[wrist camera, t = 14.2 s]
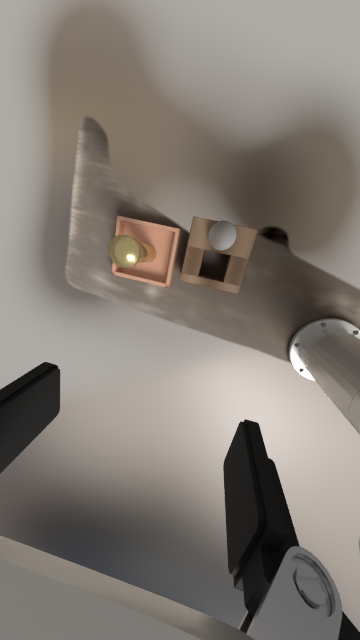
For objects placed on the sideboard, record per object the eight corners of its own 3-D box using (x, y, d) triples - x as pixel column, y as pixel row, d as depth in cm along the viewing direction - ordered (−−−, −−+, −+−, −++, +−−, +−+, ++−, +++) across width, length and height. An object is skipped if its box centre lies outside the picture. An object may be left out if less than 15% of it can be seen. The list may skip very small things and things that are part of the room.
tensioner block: (253, 232, 34) (260, 228, 28) (235, 290, 37) (239, 296, 31) (195, 220, 34) (192, 214, 29) (183, 278, 38) (178, 281, 32)
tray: (181, 230, 35) (179, 228, 33) (171, 285, 38) (168, 287, 36) (123, 218, 36) (117, 215, 34) (117, 273, 39) (111, 274, 37)
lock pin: (160, 243, 36) (140, 237, 26) (156, 267, 37) (136, 270, 27) (138, 239, 36) (109, 231, 26) (135, 262, 38) (107, 264, 27)
